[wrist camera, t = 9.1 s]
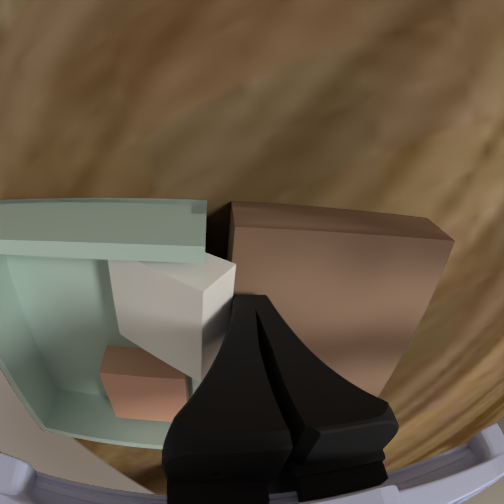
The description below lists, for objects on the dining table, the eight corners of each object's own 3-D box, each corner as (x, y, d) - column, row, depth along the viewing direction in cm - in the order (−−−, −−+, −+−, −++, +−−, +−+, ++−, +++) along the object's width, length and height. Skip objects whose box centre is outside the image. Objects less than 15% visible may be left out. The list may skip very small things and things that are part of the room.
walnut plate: (353, 391, 22) (363, 417, 19) (218, 400, 20) (219, 431, 18) (427, 218, 15) (454, 240, 13) (231, 201, 13) (235, 226, 11)
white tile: (226, 353, 13) (201, 382, 12) (148, 312, 15) (119, 333, 13) (236, 264, 11) (203, 291, 10) (142, 227, 13) (106, 246, 11)
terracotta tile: (189, 396, 19) (188, 422, 17) (120, 392, 18) (116, 417, 16) (186, 350, 16) (185, 379, 15) (106, 345, 16) (99, 372, 14)
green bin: (203, 400, 20) (204, 450, 16) (55, 385, 18) (41, 429, 15) (207, 200, 13) (205, 246, 10) (-9, 200, 12) (-56, 238, 8)
